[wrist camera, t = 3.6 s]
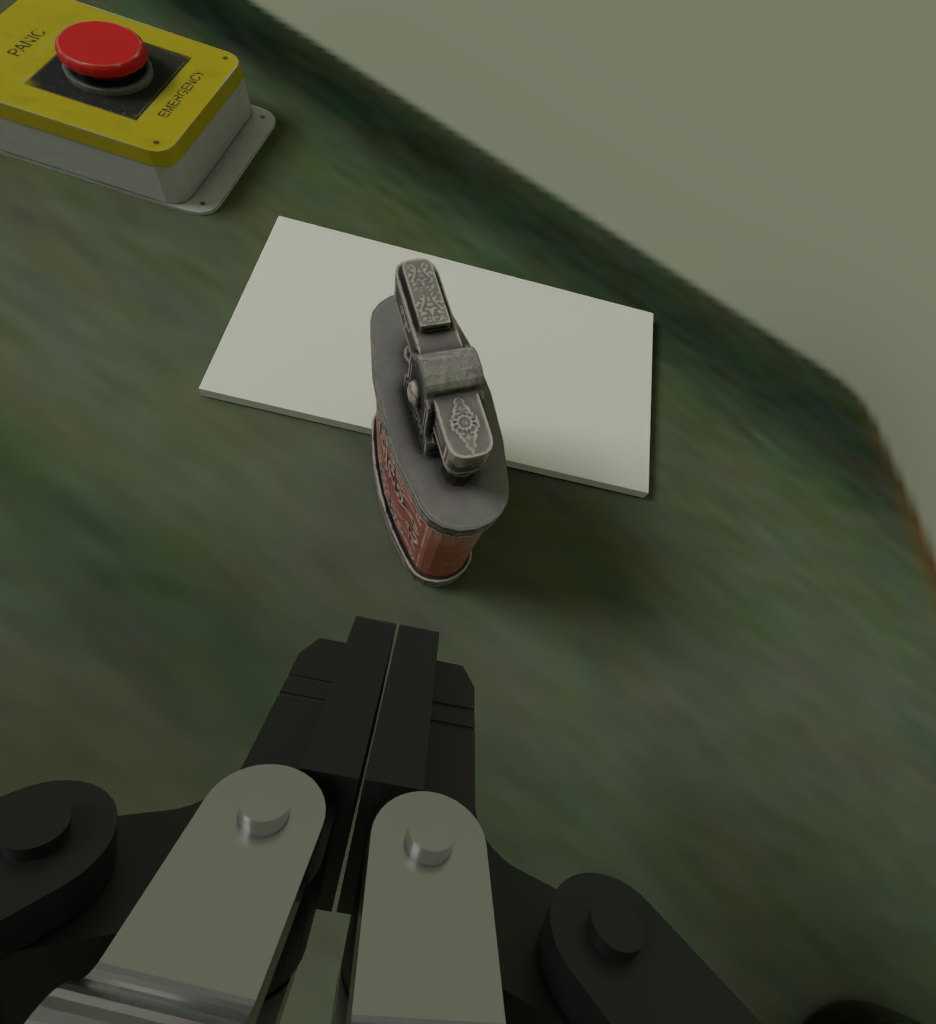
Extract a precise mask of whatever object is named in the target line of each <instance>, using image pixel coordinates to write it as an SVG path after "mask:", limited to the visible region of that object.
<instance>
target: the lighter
mask: <svg viewBox="0 0 936 1024" xmlns="http://www.w3.org/2000/svg"><path fill="white" fill-rule="evenodd" d="M370 340H371V363H372V380H373V386H374V391H375V396H376V413H375V415H374V416H373V420H372V454H373V470H374V475H375V481H376V487H377V492H378V498H379V503H380V506H381V509H382V512H383V515H384V518H385V521H386V524H387V527H388V530H389V533H390V536H391V538H392V540H393V543H394V545H395V547H396V549H397V551H398V553H399V555H400V557H401V559H402V561H403V563H404V565H405V567H406V570H407V572H408V573H409V574H410V575H411V577H412V578H413V579H414V580H416V581H417V582H419V583H421V584H423V585H427V586H432V587H435V586H445V585H447V584H449V583H452V582H454V581H456V580H457V579H458V578H459V577H460V576H461V575H463V573H464V572H465V570H466V568H467V567H468V565H469V563H470V561H471V557H472V549H473V547H474V546H475V544H476V542H477V541H478V539H479V537H480V536H481V534H482V532H484V531H486V530H487V529H488V528H489V527H490V526H492V525H493V524H494V523H495V522H496V521H497V520H498V518H499V516H500V515H501V513H502V511H503V510H504V508H505V506H506V504H507V502H508V497H509V482H508V474H507V467H506V459H505V451H504V443H503V438H502V434H501V430H500V426H499V422H498V418H497V414H496V410H495V406H494V403H493V399H492V395H491V392H490V389H489V387H488V385H487V382H486V380H485V377H484V374H483V369H482V365H481V362H480V359H479V356H478V353H477V351H476V349H475V348H474V347H471V345H470V344H469V342H468V340H467V338H466V337H465V335H464V333H463V331H462V330H461V328H460V326H459V324H458V323H457V321H456V319H455V318H454V316H453V314H452V312H451V309H450V306H449V303H448V300H447V297H446V294H445V291H444V288H443V285H442V282H441V279H440V276H439V273H438V270H437V268H436V266H435V265H434V264H433V263H432V262H430V261H429V260H428V259H425V258H417V259H410V260H406V261H404V262H401V263H400V264H398V265H397V267H396V270H395V290H394V295H392V296H389V297H388V298H386V299H385V300H383V301H381V302H380V303H379V304H378V305H377V306H376V308H375V309H374V310H373V312H372V316H371V320H370Z"/></svg>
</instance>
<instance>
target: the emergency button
mask: <svg viewBox="0 0 936 1024" xmlns="http://www.w3.org/2000/svg"><path fill="white" fill-rule="evenodd" d="M243 76H244V75H243V72H242V69H241V66H240V63H239V61H238V59H237V57H236V56H235V55H233V54H231V53H230V52H227V51H224V50H221V49H218V48H215V47H212V46H209V45H206V44H203V43H200V42H197V41H194V40H191V39H188V38H185V37H182V36H179V35H176V34H173V33H170V32H167V31H164V30H161V29H158V28H155V27H152V26H149V25H146V24H143V23H140V22H137V21H134V20H131V19H128V18H125V17H122V16H120V15H117V14H114V13H111V12H108V11H105V10H102V9H99V8H96V7H93V6H90V5H87V4H84V3H81V2H78V1H75V0H18V1H17V2H16V3H14V4H13V5H12V6H11V7H9V8H8V9H7V10H6V11H4V12H3V13H2V14H1V15H0V153H1V154H4V155H7V156H10V157H13V158H16V159H20V160H23V161H26V162H29V163H32V164H35V165H38V166H41V167H45V168H48V169H51V170H54V171H57V172H60V173H63V174H67V175H70V176H73V177H76V178H79V179H82V180H85V181H88V182H92V183H95V184H98V185H101V186H104V187H107V188H110V189H114V190H117V191H120V192H123V193H126V194H129V195H132V196H136V197H139V198H142V199H145V200H148V201H151V202H154V203H157V204H161V205H164V206H167V207H170V208H173V209H176V210H179V211H183V212H186V213H189V214H195V215H207V214H212V213H214V212H215V211H216V210H218V209H219V208H220V206H221V205H222V203H223V202H224V201H225V199H226V198H227V196H228V195H229V193H230V192H231V190H232V189H233V187H234V186H235V184H236V183H237V182H238V180H239V179H240V177H241V176H242V174H243V173H244V171H245V170H246V168H247V167H248V165H249V164H250V163H251V161H252V160H253V158H254V157H255V155H256V154H257V152H258V151H259V149H260V148H261V146H262V145H263V144H264V142H265V141H266V139H267V138H268V136H269V135H270V133H271V132H272V130H273V129H274V127H275V124H276V119H275V117H274V116H273V115H272V113H271V112H269V111H267V110H265V109H263V108H261V107H257V106H254V105H251V104H250V101H249V97H248V94H247V90H246V86H245V82H244V79H243Z"/></svg>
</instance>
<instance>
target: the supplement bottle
mask: <svg viewBox="0 0 936 1024" xmlns="http://www.w3.org/2000/svg"><path fill="white" fill-rule="evenodd" d="M802 1024H924V1023H922V1022H919V1021H917V1020H915V1019H912V1018H910V1017H908V1016H905V1015H903V1014H900V1013H898V1012H896V1011H893V1010H891V1009H888V1008H886V1007H883V1006H880V1005H877V1004H874V1003H870V1002H865V1001H857V1000H847V1001H839V1002H835V1003H831V1004H829V1005H827V1006H824V1007H822V1008H821V1009H819V1010H817V1011H816V1012H814V1013H813V1014H812V1015H811V1016H809V1017H808V1018H807V1019H806V1020H805V1021H804V1022H803V1023H802Z"/></svg>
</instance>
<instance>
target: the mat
mask: <svg viewBox="0 0 936 1024" xmlns="http://www.w3.org/2000/svg"><path fill="white" fill-rule="evenodd" d="M417 258H425V259H428V260H429V261H430V262H432V263H433V264H434V265H435V266H436V268H437V270H438V273H439V276H440V279H441V282H442V285H443V288H444V291H445V294H446V297H447V300H448V303H449V306H450V309H451V312H452V314H453V316H454V318H455V319H456V321H457V323H458V324H459V326H460V328H461V330H462V331H463V333H464V335H465V337H466V338H467V340H468V342H469V344H470V345H471V347H474V348H475V349H476V351H477V353H478V356H479V359H480V362H481V365H482V369H483V374H484V377H485V380H486V382H487V385H488V387H489V389H490V392H491V395H492V399H493V403H494V406H495V410H496V414H497V418H498V422H499V426H500V430H501V434H502V438H503V443H504V451H505V459H506V466H508V467H512V468H517V469H521V470H525V471H530V472H534V473H538V474H543V475H547V476H551V477H556V478H560V479H564V480H568V481H573V482H577V483H581V484H586V485H590V486H594V487H599V488H603V489H607V490H612V491H616V492H620V493H625V494H629V495H633V496H638V497H642V498H644V497H645V496H646V495H647V494H648V493H649V457H650V419H651V381H652V343H653V313H650V312H646V311H642V310H638V309H634V308H631V307H627V306H623V305H619V304H615V303H611V302H608V301H604V300H600V299H596V298H592V297H588V296H585V295H581V294H577V293H573V292H569V291H565V290H562V289H558V288H554V287H550V286H546V285H542V284H539V283H535V282H531V281H527V280H523V279H519V278H516V277H512V276H508V275H504V274H500V273H496V272H493V271H489V270H485V269H481V268H477V267H473V266H470V265H466V264H462V263H458V262H454V261H450V260H447V259H443V258H439V257H435V256H431V255H427V254H424V253H420V252H416V251H412V250H408V249H404V248H401V247H397V246H393V245H389V244H385V243H381V242H378V241H374V240H370V239H366V238H362V237H358V236H355V235H351V234H347V233H343V232H339V231H335V230H332V229H328V228H324V227H320V226H316V225H312V224H309V223H305V222H301V221H297V220H293V219H289V218H286V217H282V216H279V217H278V219H277V221H276V223H275V225H274V227H273V230H272V232H271V234H270V236H269V238H268V240H267V243H266V245H265V247H264V249H263V251H262V253H261V255H260V258H259V260H258V262H257V264H256V266H255V268H254V270H253V273H252V275H251V277H250V279H249V281H248V283H247V286H246V288H245V290H244V292H243V294H242V296H241V298H240V301H239V303H238V305H237V307H236V309H235V311H234V314H233V316H232V318H231V320H230V322H229V324H228V326H227V329H226V331H225V333H224V335H223V337H222V339H221V342H220V344H219V346H218V348H217V350H216V352H215V354H214V357H213V359H212V361H211V363H210V365H209V367H208V370H207V372H206V374H205V376H204V378H203V380H202V382H201V385H200V387H199V390H200V393H201V395H202V396H206V397H210V398H215V399H219V400H223V401H228V402H232V403H236V404H241V405H245V406H249V407H253V408H258V409H262V410H266V411H271V412H275V413H279V414H284V415H288V416H292V417H297V418H301V419H305V420H310V421H314V422H318V423H323V424H327V425H331V426H335V427H340V428H344V429H348V430H353V431H357V432H361V433H366V434H370V435H372V420H373V416H374V415H375V413H376V396H375V391H374V386H373V380H372V363H371V340H370V320H371V316H372V312H373V310H374V309H375V308H376V306H377V305H378V304H379V303H380V302H381V301H383V300H385V299H386V298H388V297H389V296H392V295H394V290H395V270H396V267H397V265H398V264H400V263H401V262H404V261H406V260H410V259H417Z"/></svg>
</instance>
